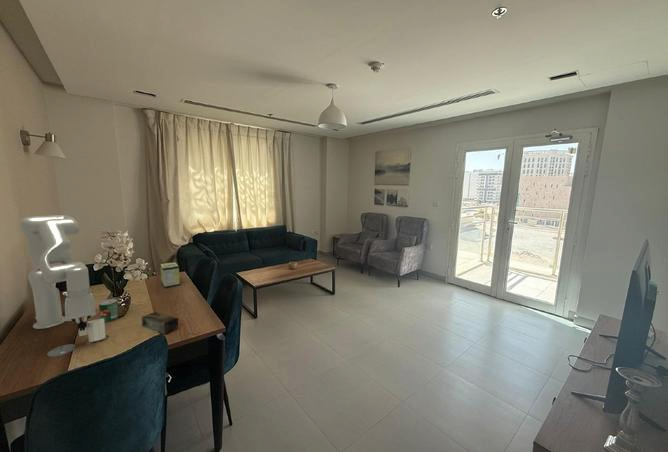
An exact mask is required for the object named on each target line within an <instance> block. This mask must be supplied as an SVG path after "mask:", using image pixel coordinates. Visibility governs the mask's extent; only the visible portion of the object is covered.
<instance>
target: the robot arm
mask: <svg viewBox="0 0 668 452" xmlns="http://www.w3.org/2000/svg"><path fill="white" fill-rule="evenodd" d="M19 228H20V230H21V232H22V233H23V236H24V237H25V239H26V240H27V247H28V252H29V253H28V254H29V260H30V263H31V264H32V265H34V266H39V267H38V268H35V269H32V270H30V271H29V273H28V275H27V278H28V281H29V283H30V287H31V290H32V294H33V295H32V297H33V303H34V311H35V317H34V319H35V320H36V322H34V324H33V325H32V329H34V330H43V329H49V328H53V327H56V326H58V325H61V324H64V323H65V322H74V323H75V324H77V330H79V329H80V331H82V328H83V330H85V327H87V326H88V322H87V321H89V319H90V318H91V317H94V316H97V313H98V312H97V311H96V302H95V298H94V295H93V292H92V291H91V288H90V276H89V274H90V273H89V268H88V266H86V264H84V263H83V262H81V261H75V260H74V252H73V249H72V248H71V246H72V242H71V241H70V239H69V236H68V235H76V234H78V233H79V232H80V223H79V222H78V221H77V220H76V219H75V218H73V217H72V216H69V215H66V214H57V215H52V214H51V215H33V216H27V217H23V218H21V219H20V221H19ZM58 263H59V264H58ZM52 264H55V265H52ZM61 282H66V291H64V292H62V296H66V297H65V300H64V315H63V311H62V303H61V295H60V290H59V288H57V287H56V286H54V285H53V284H57V283H61ZM81 318H82V319H81Z"/></svg>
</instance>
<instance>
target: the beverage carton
mask: <svg viewBox="0 0 668 452" xmlns="http://www.w3.org/2000/svg"><path fill="white" fill-rule="evenodd" d="M141 326H142V327H144V328H147V329H149V330H152V331H155V332H157V333H160V334H162V333H163V335H166V334H169V333H171V332H174V331H176V330H177V329H179V318H177V317H174V316H171V315H167V314H164V313H161V312H158V311H153V312H151V313H149V314H144V315H143V316H142V317H141Z"/></svg>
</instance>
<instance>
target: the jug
mask: <svg viewBox="0 0 668 452" xmlns="http://www.w3.org/2000/svg"><path fill="white" fill-rule="evenodd" d="M105 324H106V323H105V321H104V319H100V318H98V319H93V320H91V321H90V320H89V321H88V322H87V327H85V330H83V328H82V331H80V329H78V334H79V336H78V337H83V336H86V335H88V340H89V342H93V341H98V340H101V339H104V338H105V337H106V335H107V333H106V325H105Z"/></svg>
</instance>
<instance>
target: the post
mask: <svg viewBox="0 0 668 452" xmlns="http://www.w3.org/2000/svg"><path fill="white" fill-rule="evenodd" d="M109 338H110V336H109V335H108V334H106V337H105V338H104V339H101V340H98V341H93V342H89V339H88V340H87V341H86V345H89V346H90V345H91V346H92V345H98V344H102V343H104V342H106V341H108V340H109Z"/></svg>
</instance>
